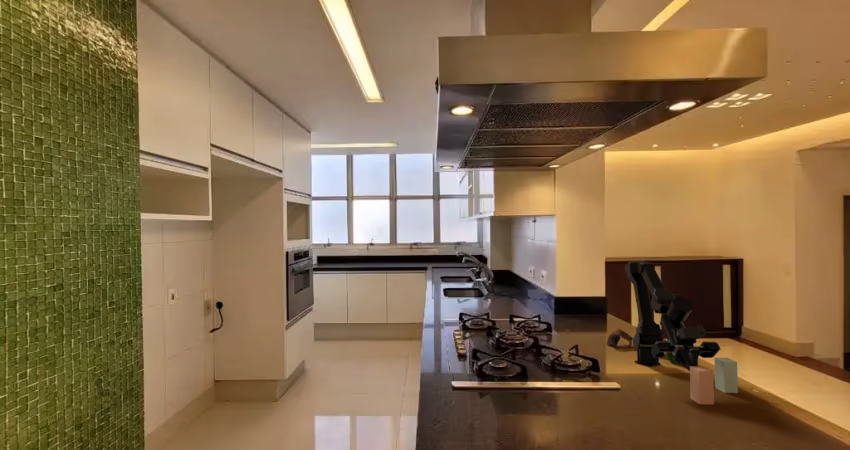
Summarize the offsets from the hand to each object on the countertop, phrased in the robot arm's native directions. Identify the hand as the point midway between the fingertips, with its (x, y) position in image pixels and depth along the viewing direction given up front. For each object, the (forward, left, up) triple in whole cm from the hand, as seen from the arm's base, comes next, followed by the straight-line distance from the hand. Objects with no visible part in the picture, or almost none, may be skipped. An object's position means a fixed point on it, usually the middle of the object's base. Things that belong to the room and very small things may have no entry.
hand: (696, 375), depth 126 cm
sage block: (+1, +14, -7) cm, 16 cm away
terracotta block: (+2, -1, -7) cm, 7 cm away
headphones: (-50, +30, -7) cm, 58 cm away
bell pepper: (-23, +29, -7) cm, 38 cm away
